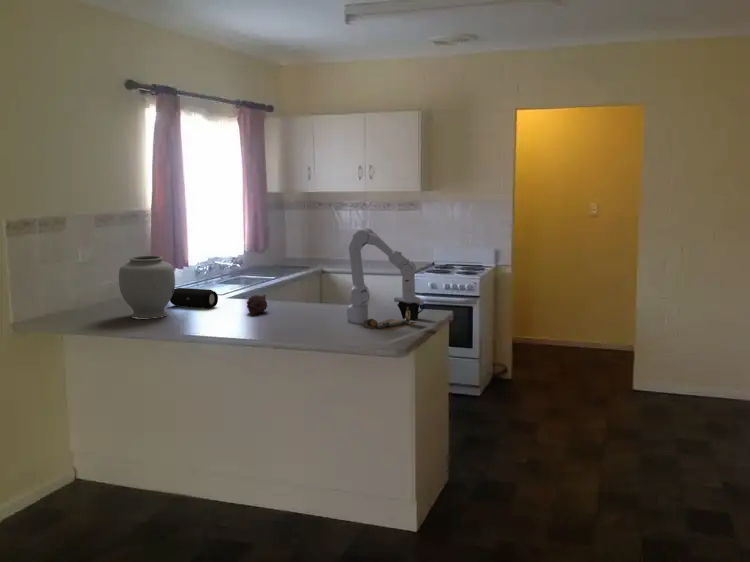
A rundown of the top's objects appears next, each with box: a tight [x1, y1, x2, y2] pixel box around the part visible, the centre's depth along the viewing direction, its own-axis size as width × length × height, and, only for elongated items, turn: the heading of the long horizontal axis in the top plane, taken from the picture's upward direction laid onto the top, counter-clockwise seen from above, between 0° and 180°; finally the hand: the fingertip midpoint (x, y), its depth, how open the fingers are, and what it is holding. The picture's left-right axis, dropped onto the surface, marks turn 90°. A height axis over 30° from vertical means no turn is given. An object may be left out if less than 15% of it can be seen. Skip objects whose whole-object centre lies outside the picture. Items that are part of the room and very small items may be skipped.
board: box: [363, 318, 418, 331], centre depth 335 cm, size 17×21×4 cm
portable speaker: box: [169, 287, 219, 309], centre depth 396 cm, size 26×10×10 cm, turn 66°
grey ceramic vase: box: [118, 255, 176, 318], centre depth 371 cm, size 27×27×30 cm
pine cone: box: [246, 294, 268, 315], centre depth 375 cm, size 18×10×10 cm
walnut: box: [370, 319, 378, 327], centre depth 331 cm, size 3×3×3 cm
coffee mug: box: [407, 296, 425, 321], centre depth 351 cm, size 12×9×10 cm
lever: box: [375, 310, 411, 329], centre depth 332 cm, size 3×18×6 cm, turn 124°
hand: (408, 318), depth 336 cm, fingers open, 4 cm apart
